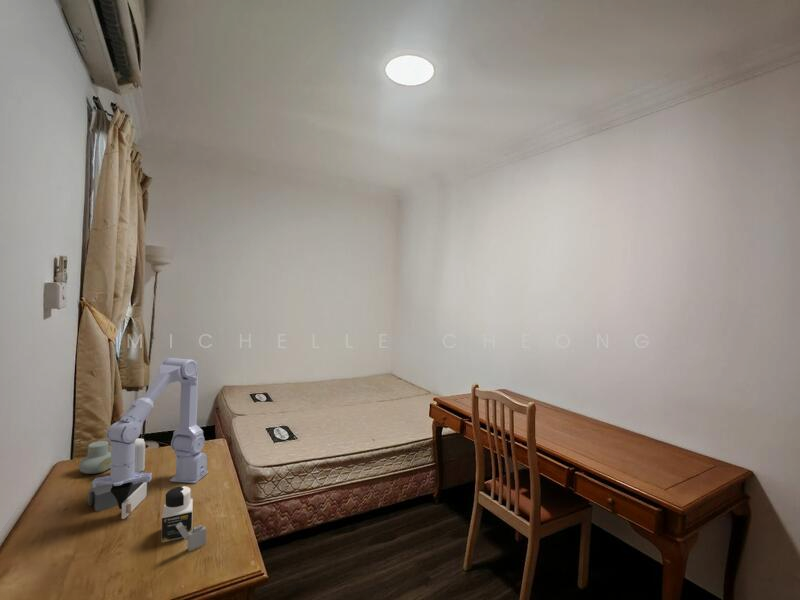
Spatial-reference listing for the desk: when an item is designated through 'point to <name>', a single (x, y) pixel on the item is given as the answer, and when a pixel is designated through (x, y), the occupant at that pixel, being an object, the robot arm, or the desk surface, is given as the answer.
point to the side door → (134, 500)
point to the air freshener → (96, 458)
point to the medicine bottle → (177, 513)
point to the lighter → (193, 536)
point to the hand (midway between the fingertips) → (122, 507)
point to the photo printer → (139, 455)
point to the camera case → (106, 496)
